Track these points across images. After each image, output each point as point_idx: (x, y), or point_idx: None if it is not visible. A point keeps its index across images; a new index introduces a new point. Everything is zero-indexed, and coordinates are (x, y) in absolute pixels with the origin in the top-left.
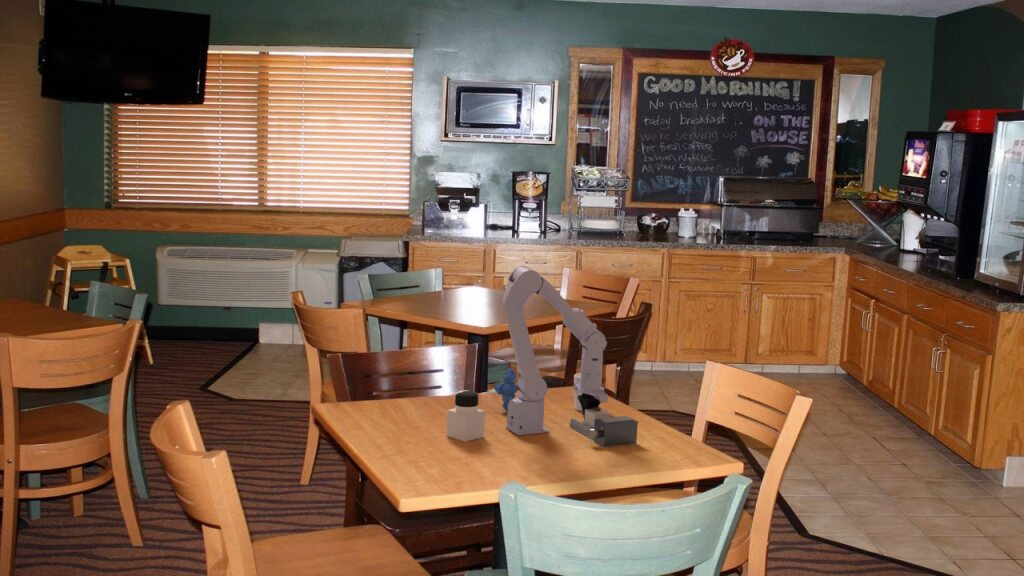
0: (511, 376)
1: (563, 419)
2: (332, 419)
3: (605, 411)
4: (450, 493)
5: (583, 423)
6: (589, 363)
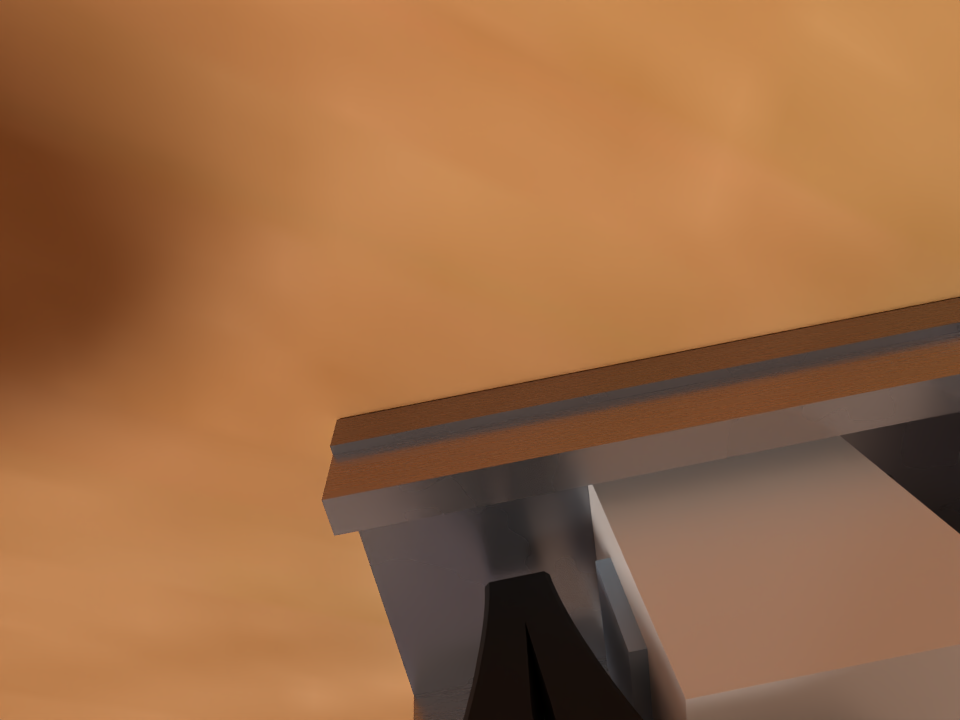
0: None
1: (121, 681)
2: None
3: (946, 683)
4: None
5: (444, 609)
6: None
